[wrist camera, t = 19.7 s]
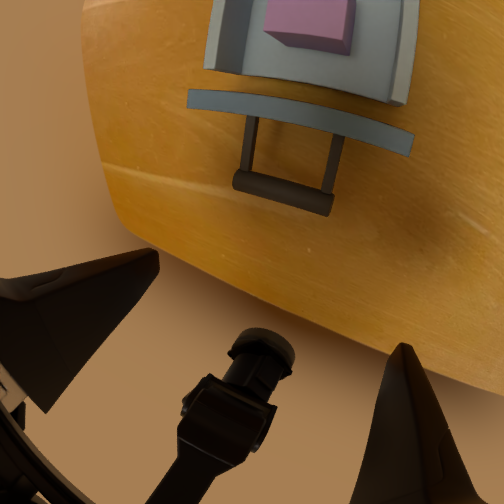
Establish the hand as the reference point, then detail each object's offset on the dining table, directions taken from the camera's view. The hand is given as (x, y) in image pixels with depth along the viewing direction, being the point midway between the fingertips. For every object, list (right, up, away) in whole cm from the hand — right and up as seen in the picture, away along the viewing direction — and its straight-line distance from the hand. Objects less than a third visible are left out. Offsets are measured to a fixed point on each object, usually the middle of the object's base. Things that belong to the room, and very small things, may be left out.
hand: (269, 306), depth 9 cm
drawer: (+4, +16, +4) cm, 17 cm away
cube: (+4, +15, +3) cm, 16 cm away
